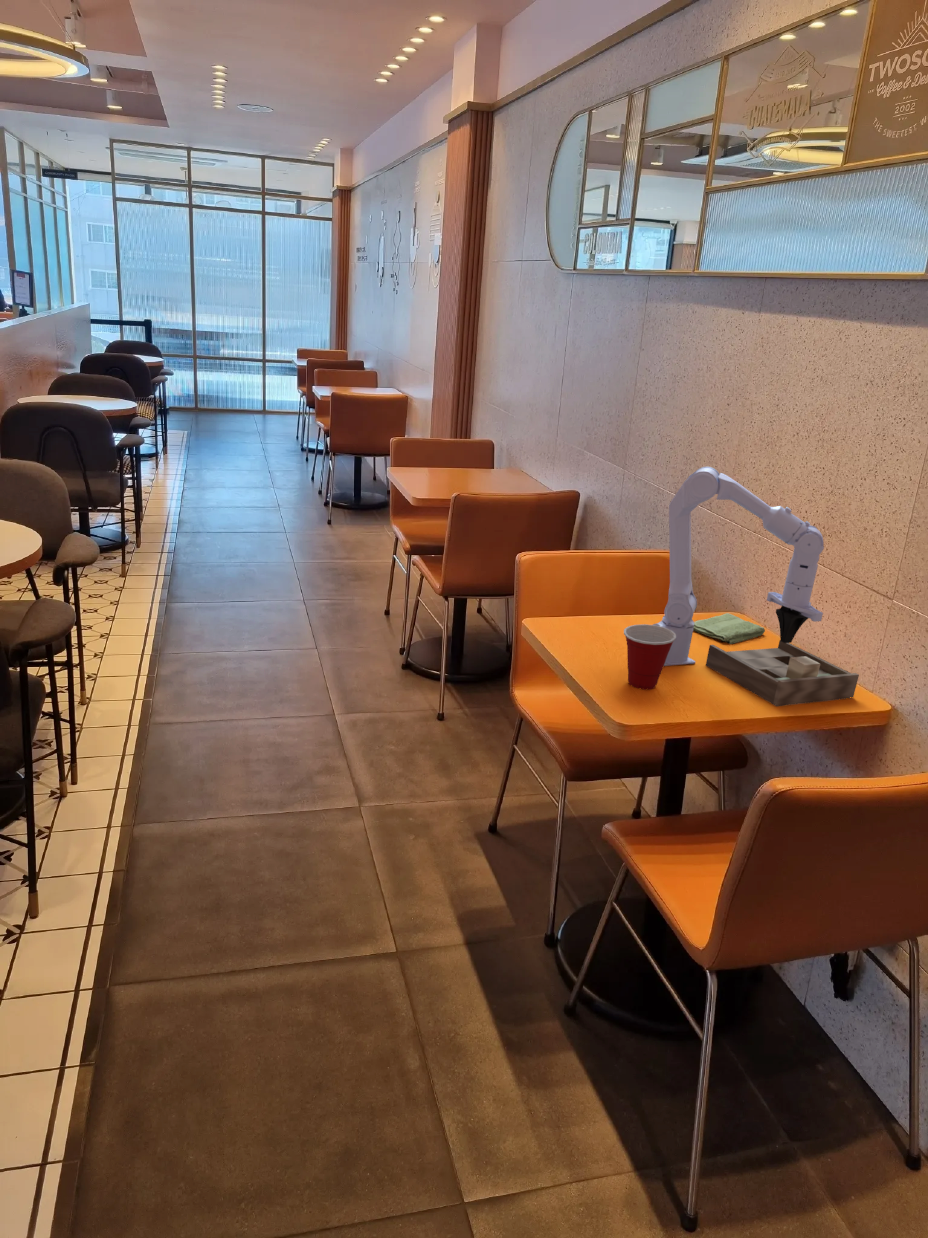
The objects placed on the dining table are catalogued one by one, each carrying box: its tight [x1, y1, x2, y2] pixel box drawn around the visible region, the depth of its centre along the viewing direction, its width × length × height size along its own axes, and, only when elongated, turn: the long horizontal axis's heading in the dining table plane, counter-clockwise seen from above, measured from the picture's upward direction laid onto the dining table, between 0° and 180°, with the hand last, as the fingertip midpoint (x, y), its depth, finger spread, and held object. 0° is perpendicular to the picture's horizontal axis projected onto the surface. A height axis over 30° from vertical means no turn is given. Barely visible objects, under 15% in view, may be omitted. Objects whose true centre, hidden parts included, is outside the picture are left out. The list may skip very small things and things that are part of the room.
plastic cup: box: [623, 623, 676, 691], centre depth 189 cm, size 11×11×12 cm
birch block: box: [786, 656, 820, 679], centre depth 194 cm, size 4×4×4 cm
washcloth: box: [693, 612, 766, 645], centre depth 231 cm, size 13×18×3 cm
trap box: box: [705, 640, 860, 707], centre depth 200 cm, size 22×23×6 cm
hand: (785, 641), depth 198 cm, fingers closed
